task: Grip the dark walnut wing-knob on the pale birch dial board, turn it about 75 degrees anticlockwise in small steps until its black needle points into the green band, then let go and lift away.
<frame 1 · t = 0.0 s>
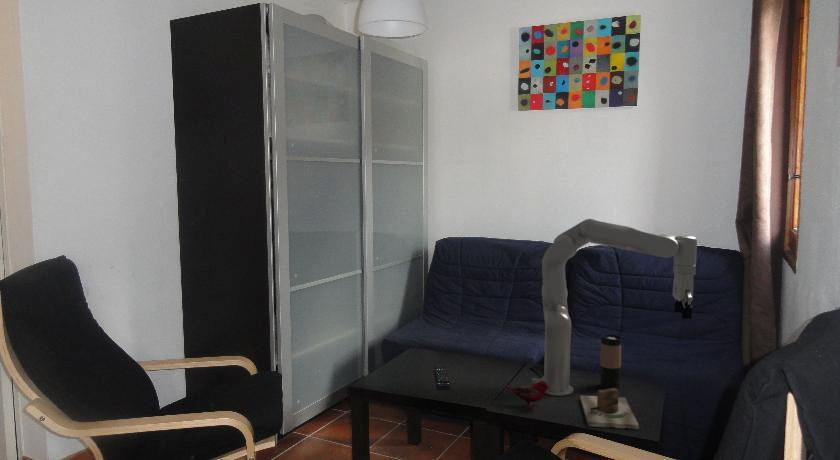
hand: (682, 315, 219), 31 cm above the table, tool pointing down, fingers open, 9 cm apart
knob: (603, 400, 206), point 5 cm above the table, hinge at 0.0°
travel mug: (609, 387, 233), on the table
decorative bird figurine: (525, 405, 214), on the table
dial board: (607, 413, 207), on the table
phone: (545, 374, 249), on the table
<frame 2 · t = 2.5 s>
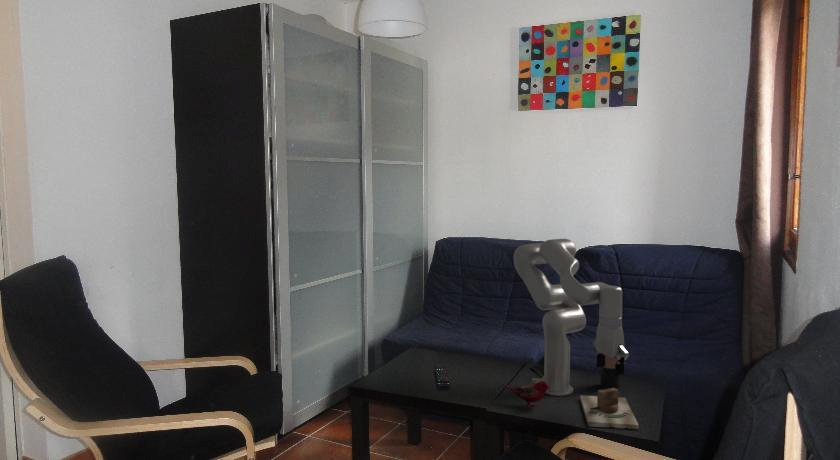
hand: (610, 370, 205), 16 cm above the table, tool pointing down, fingers open, 9 cm apart
nothing on the table moved.
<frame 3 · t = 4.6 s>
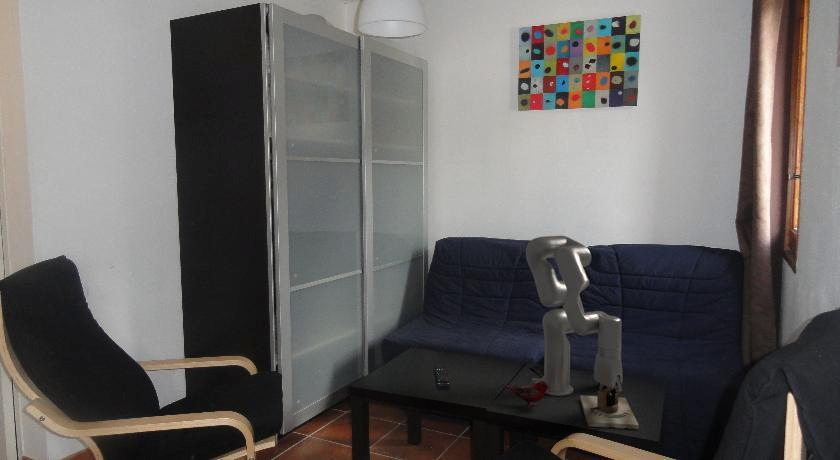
hand: (607, 403, 207), 4 cm above the table, tool pointing down, fingers closed on knob, 2 cm apart
knob: (603, 400, 206), point 5 cm above the table, hinge at 0.0°, touching gripper
everything else where it was.
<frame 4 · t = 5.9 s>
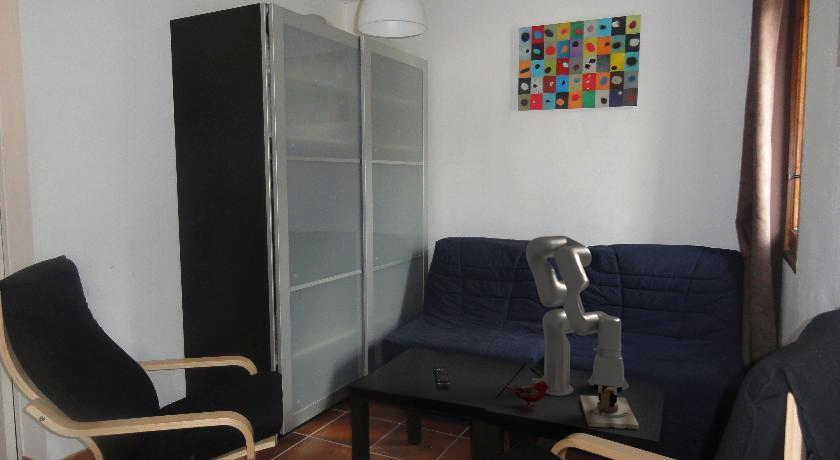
hand: (607, 403, 207), 4 cm above the table, tool pointing down, fingers closed on knob, 3 cm apart
knob: (605, 400, 205), point 5 cm above the table, hinge at 30.0°, touching gripper
everything else where it was.
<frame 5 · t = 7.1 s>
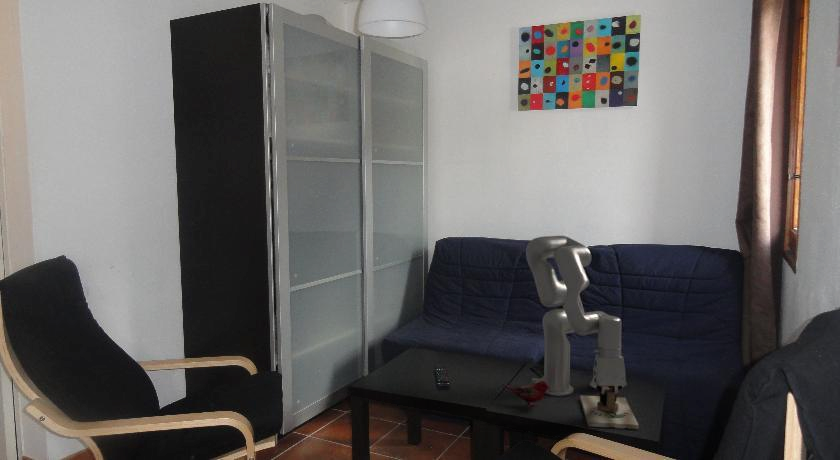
hand: (608, 403, 207), 4 cm above the table, tool pointing down, fingers closed on knob, 2 cm apart
knob: (609, 401, 205), point 5 cm above the table, hinge at 71.8°, touching gripper
everything else where it was.
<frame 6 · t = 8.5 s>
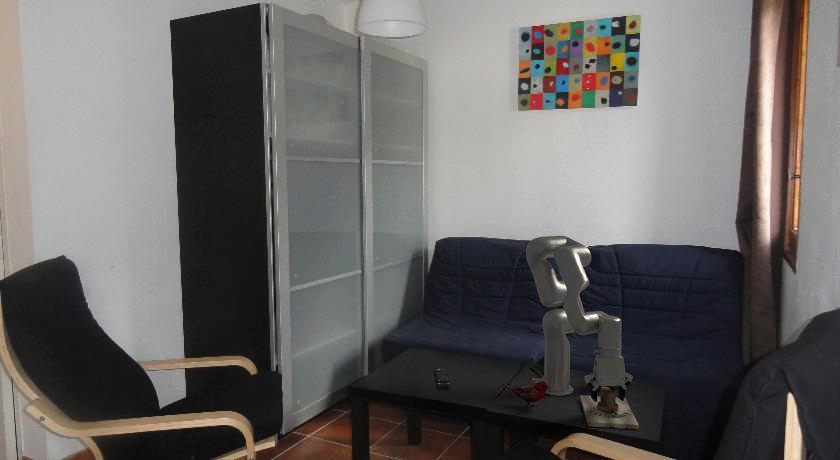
hand: (607, 400, 207), 5 cm above the table, tool pointing down, fingers open, 9 cm apart
knob: (610, 401, 205), point 5 cm above the table, hinge at 75.3°
everything else where it was.
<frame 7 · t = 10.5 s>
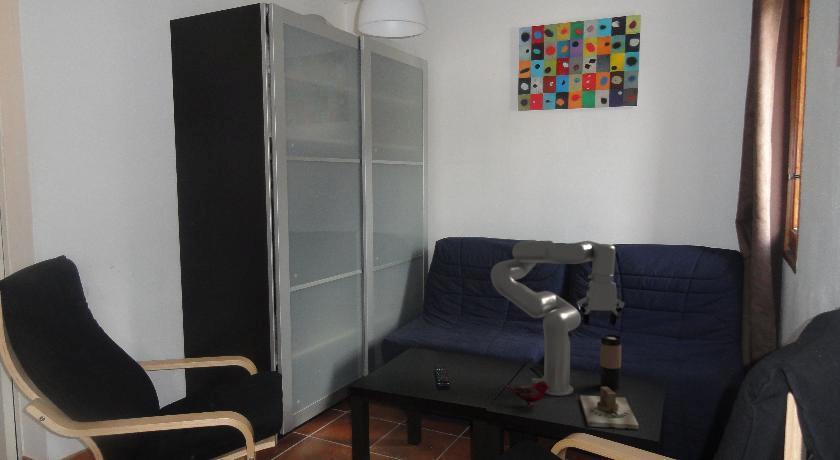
hand: (599, 324, 216), 29 cm above the table, tool pointing down, fingers open, 9 cm apart
nothing on the table moved.
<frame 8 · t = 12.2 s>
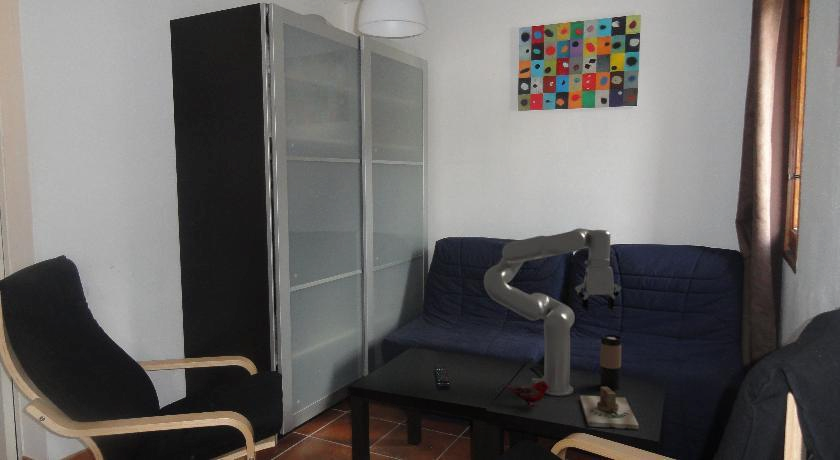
hand: (597, 309, 220), 33 cm above the table, tool pointing down, fingers open, 9 cm apart
nothing on the table moved.
at the end: knob at +75° (first picture: +0°); the gripper is holding nothing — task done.
